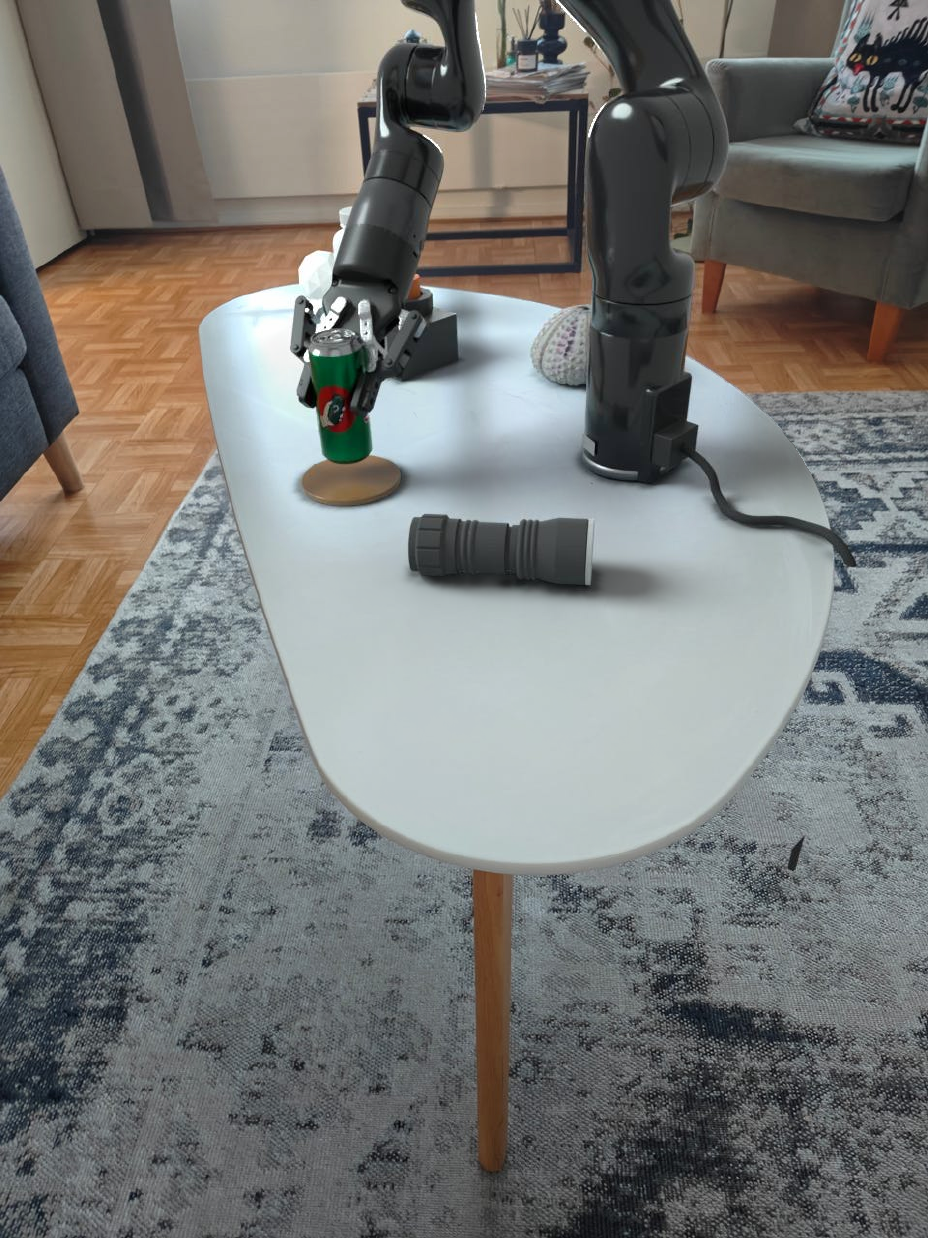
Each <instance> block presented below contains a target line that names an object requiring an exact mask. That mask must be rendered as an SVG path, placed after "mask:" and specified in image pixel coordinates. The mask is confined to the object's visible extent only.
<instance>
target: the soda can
mask: <svg viewBox="0 0 928 1238" xmlns="http://www.w3.org/2000/svg"><path fill="white" fill-rule="evenodd" d="M357 338H358V335H357V333H356V332H354V331H352V330H348V329H328V330H323V331H320V332H317V333H315V334H313V335H312V336H311V338H310V341H311V344H310V346H309V348H308V356H309V363H310V371H311V378H312V385H313V392H314V400H315V413H316V420H317V421H316V422H317V427H318V434H319V441H320V449H321V454H322V456H323V457H324V458H325V459H326V460H327V459H328V460H329V461H331V462H333V463H336V464H353V463H357V462H360V461H363V460H364V459H366V458H367V457H368V456H369V455H371V453H372V452H373V449H374V446H373V445H374V444H373V437H372V436H373V435H372V426H371V417H370V416H371V415H370V413H367V416H366V417H365V418H361V417H357V416H356V415H355V414H354V413H352V412H351V410H350V405H351V402H352V398H353V395H354V392H355V389H356V385H357V382H358V379H359V376H360V373H361V372H364V373H365V368H364V355H363V346H362V345H361V342H360V341H359V340H358V339H357Z"/></svg>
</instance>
